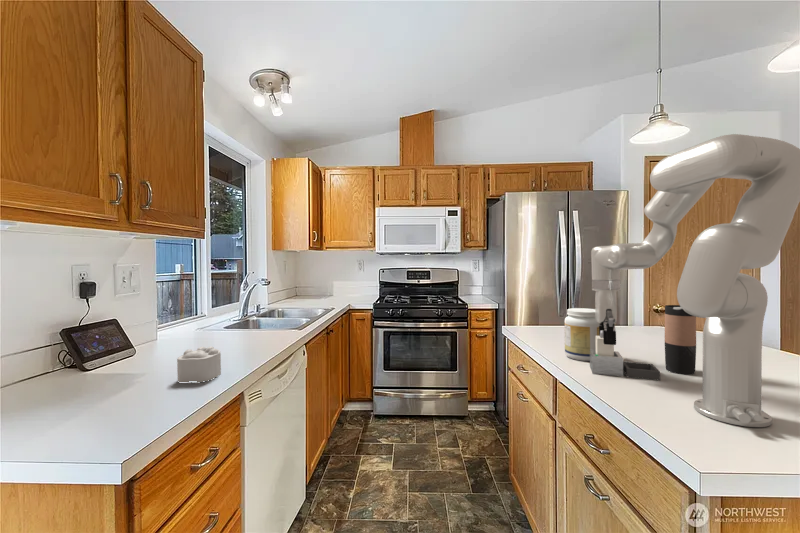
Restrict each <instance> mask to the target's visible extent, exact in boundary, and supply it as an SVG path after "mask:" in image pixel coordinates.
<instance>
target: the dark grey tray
mask: <svg viewBox="0 0 800 533" xmlns="http://www.w3.org/2000/svg"><path fill="white" fill-rule="evenodd" d="M623 374H624V375H625V376H626V378H633V379H644V380H653V381H661V372H660V370H659V369H658V368H657V367H656V366H655V365H654V363H648V362H647V363H646V362H645V363H644V362H633V361H624V360H623Z"/></svg>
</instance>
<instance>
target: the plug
mask: <svg viewBox="0 0 800 533" xmlns="http://www.w3.org/2000/svg"><path fill="white" fill-rule="evenodd" d="M603 331H604V330H601V331H600V336H596V354H598V355H600V356H612V357H614V351H615V345H607V344H604V341H603Z"/></svg>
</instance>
